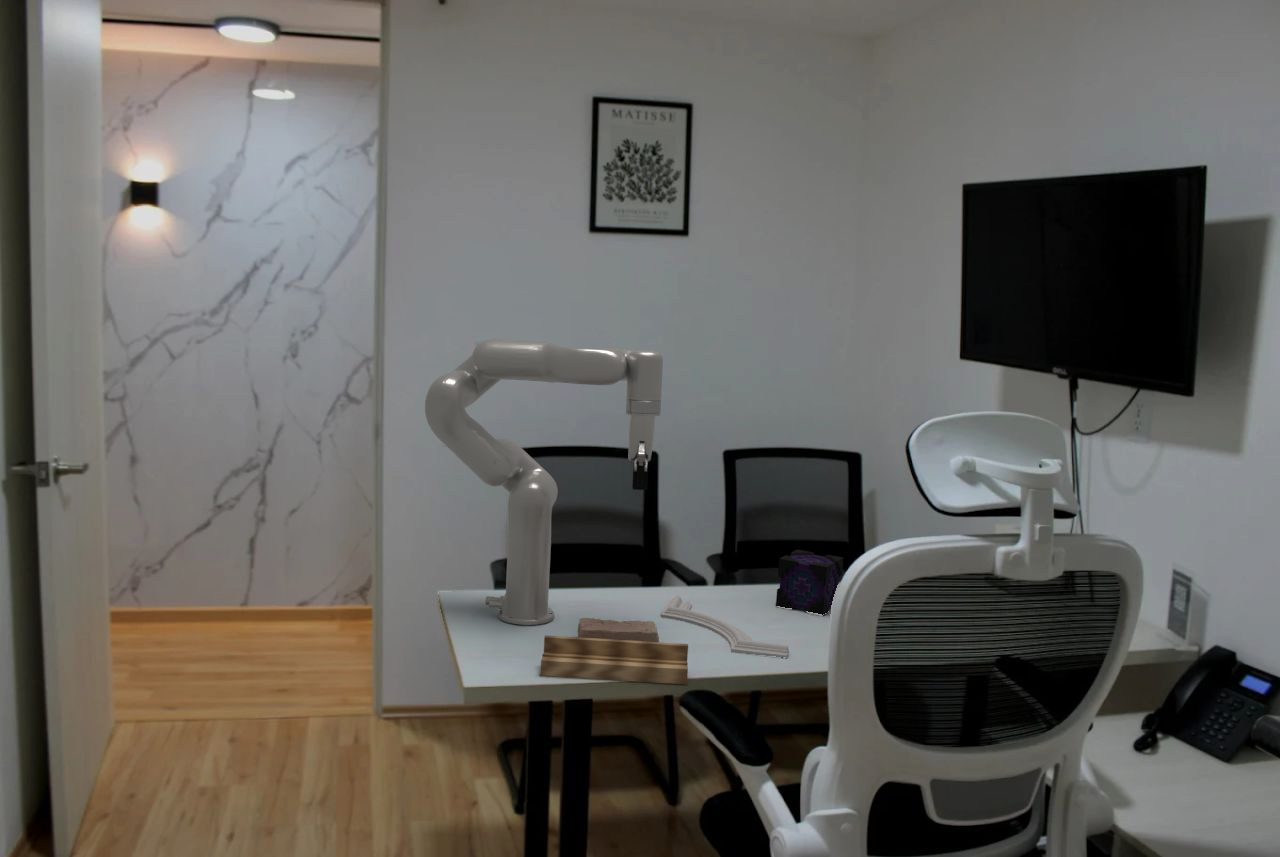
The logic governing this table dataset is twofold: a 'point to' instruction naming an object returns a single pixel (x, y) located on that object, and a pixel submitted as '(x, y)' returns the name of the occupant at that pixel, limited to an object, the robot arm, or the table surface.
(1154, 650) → the table surface
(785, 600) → the energy cube
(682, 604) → the molding
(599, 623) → the brick
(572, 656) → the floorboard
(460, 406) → the robot arm
